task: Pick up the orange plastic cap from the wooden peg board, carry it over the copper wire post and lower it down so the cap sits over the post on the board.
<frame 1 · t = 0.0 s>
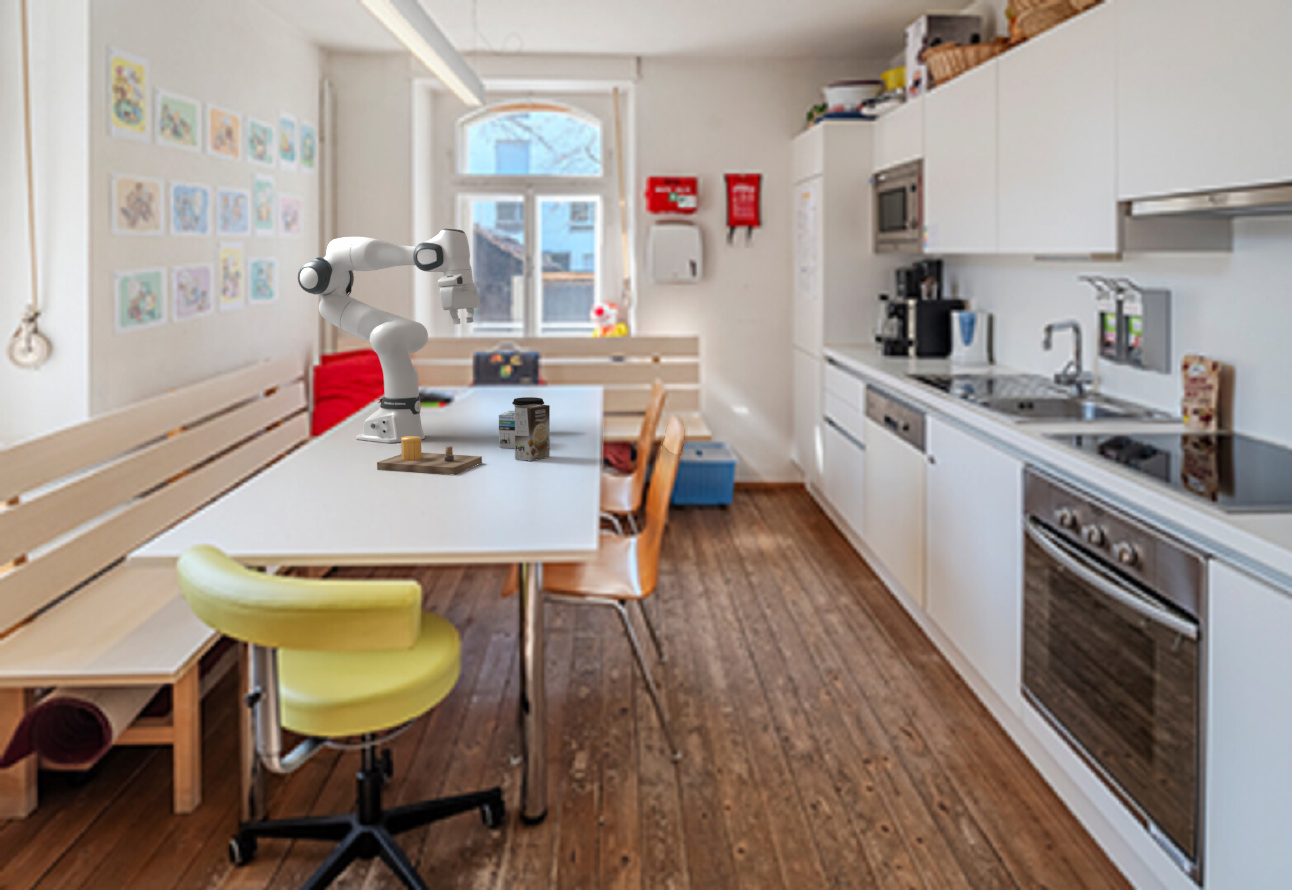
hand: (463, 323, 328), 39 cm above the table, tool pointing down, fingers open, 8 cm apart
wire cap: (411, 458, 297), point 2 cm above the table, touching wooden peg board
coffee cup: (528, 434, 354), on the table
light bulb box: (513, 446, 330), on the table
wooden peg board: (430, 466, 296), on the table
coffee box: (532, 459, 309), on the table
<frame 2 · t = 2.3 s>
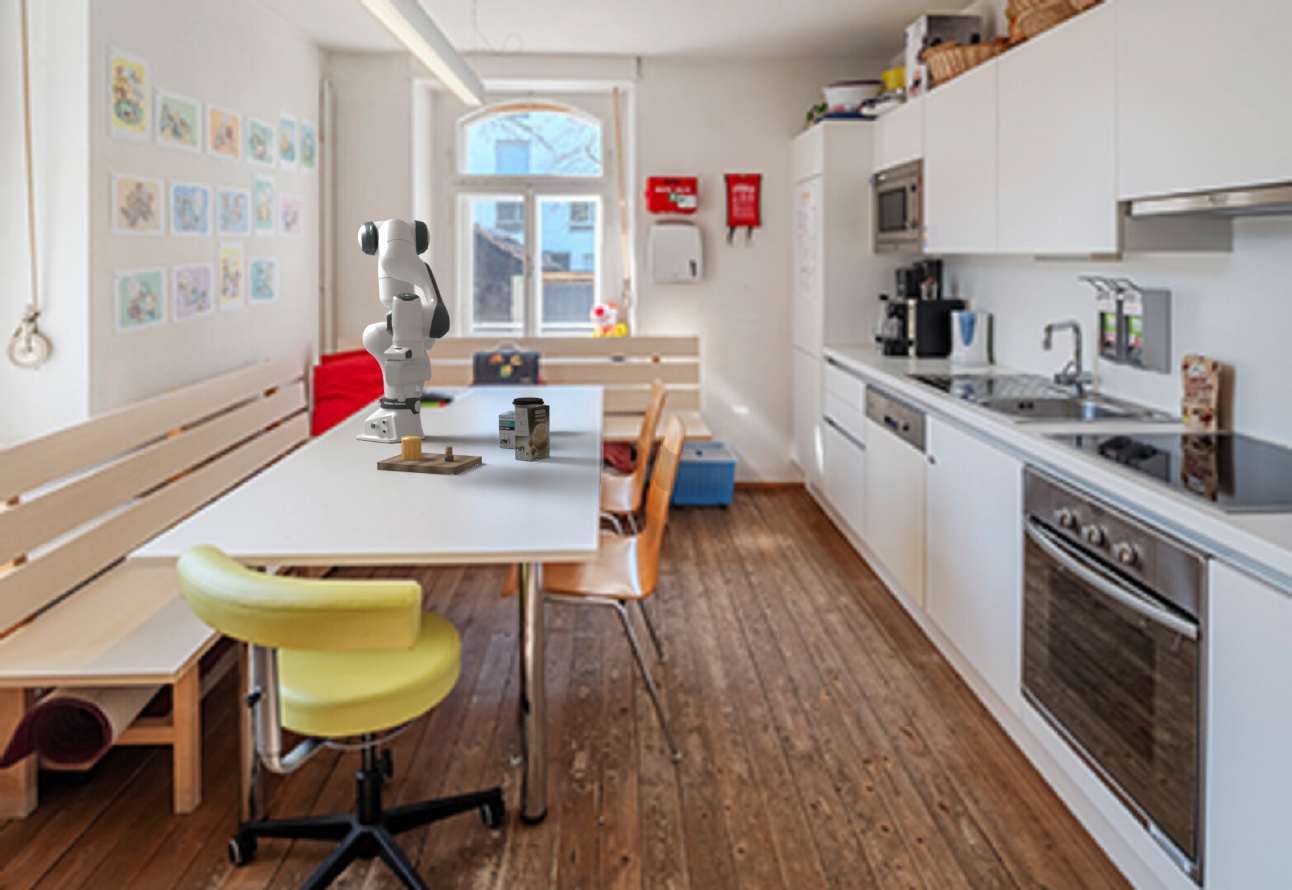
hand: (410, 399, 294), 19 cm above the table, tool pointing down, fingers open, 8 cm apart
nothing on the table moved.
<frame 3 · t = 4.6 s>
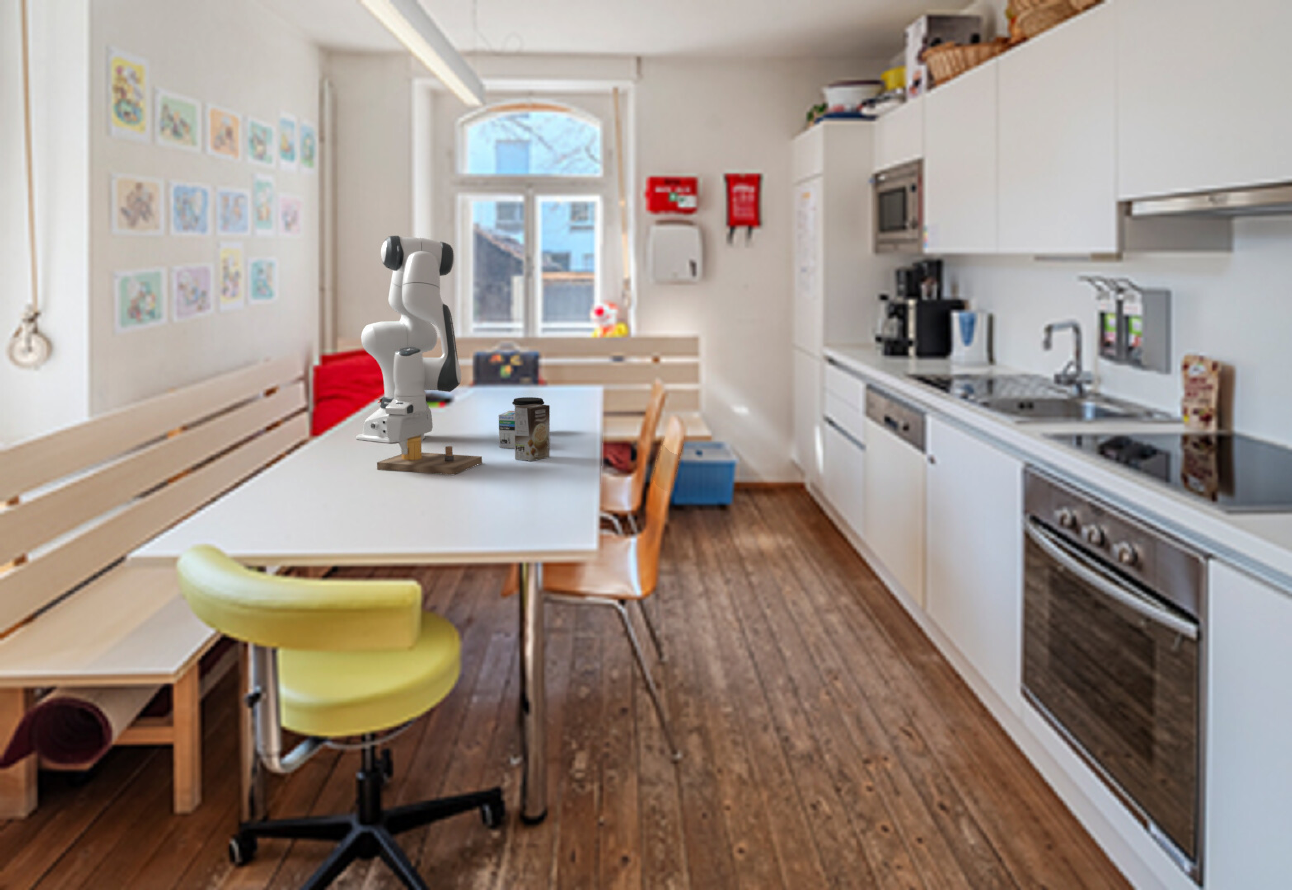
hand: (411, 451, 297), 4 cm above the table, tool pointing down, fingers closed on wire cap, 6 cm apart
wire cap: (411, 458, 297), point 2 cm above the table, touching gripper, wooden peg board
everything else where it was.
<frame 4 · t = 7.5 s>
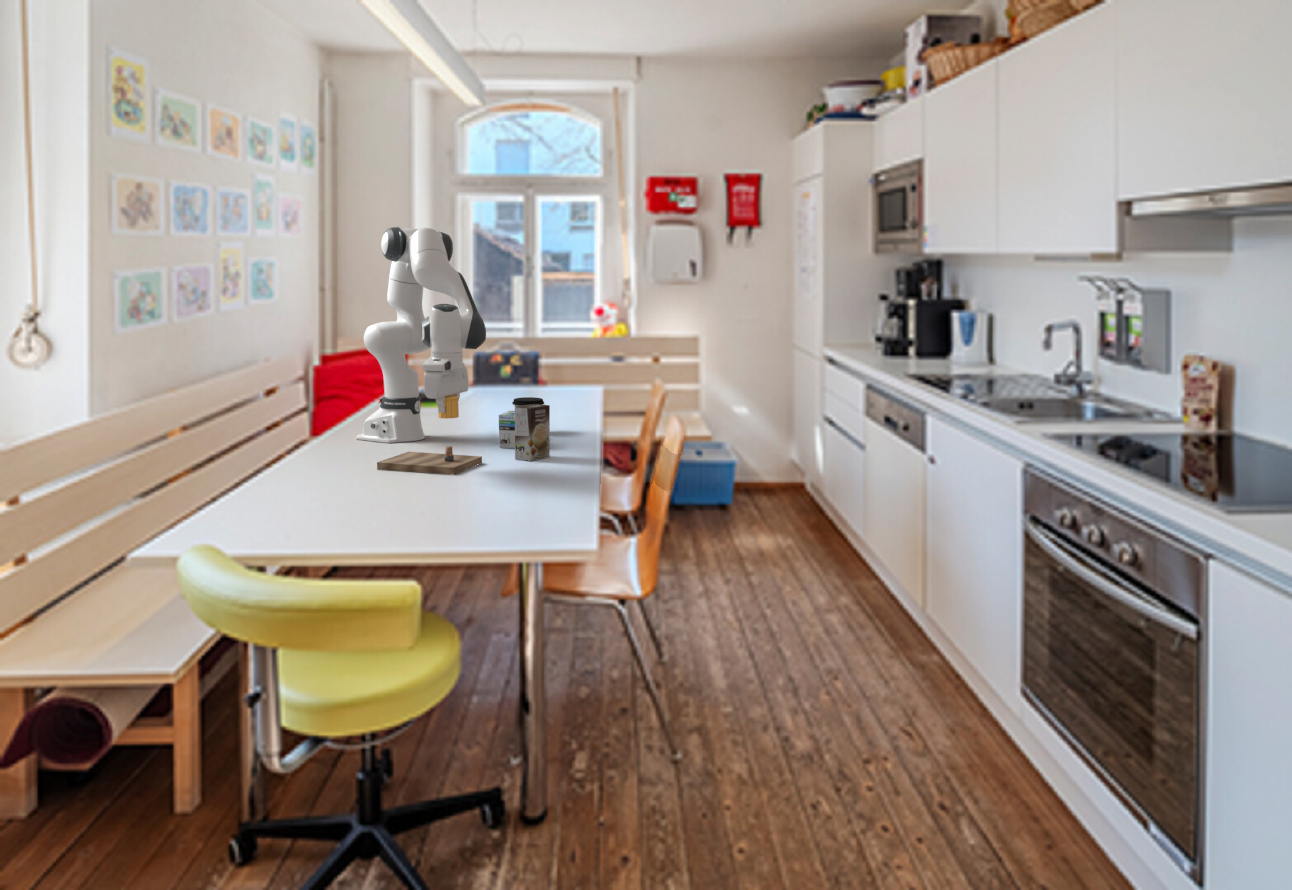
hand: (448, 410, 291), 16 cm above the table, tool pointing down, fingers closed on wire cap, 6 cm apart
wire cap: (448, 417, 292), point 15 cm above the table, touching gripper
everything else where it was.
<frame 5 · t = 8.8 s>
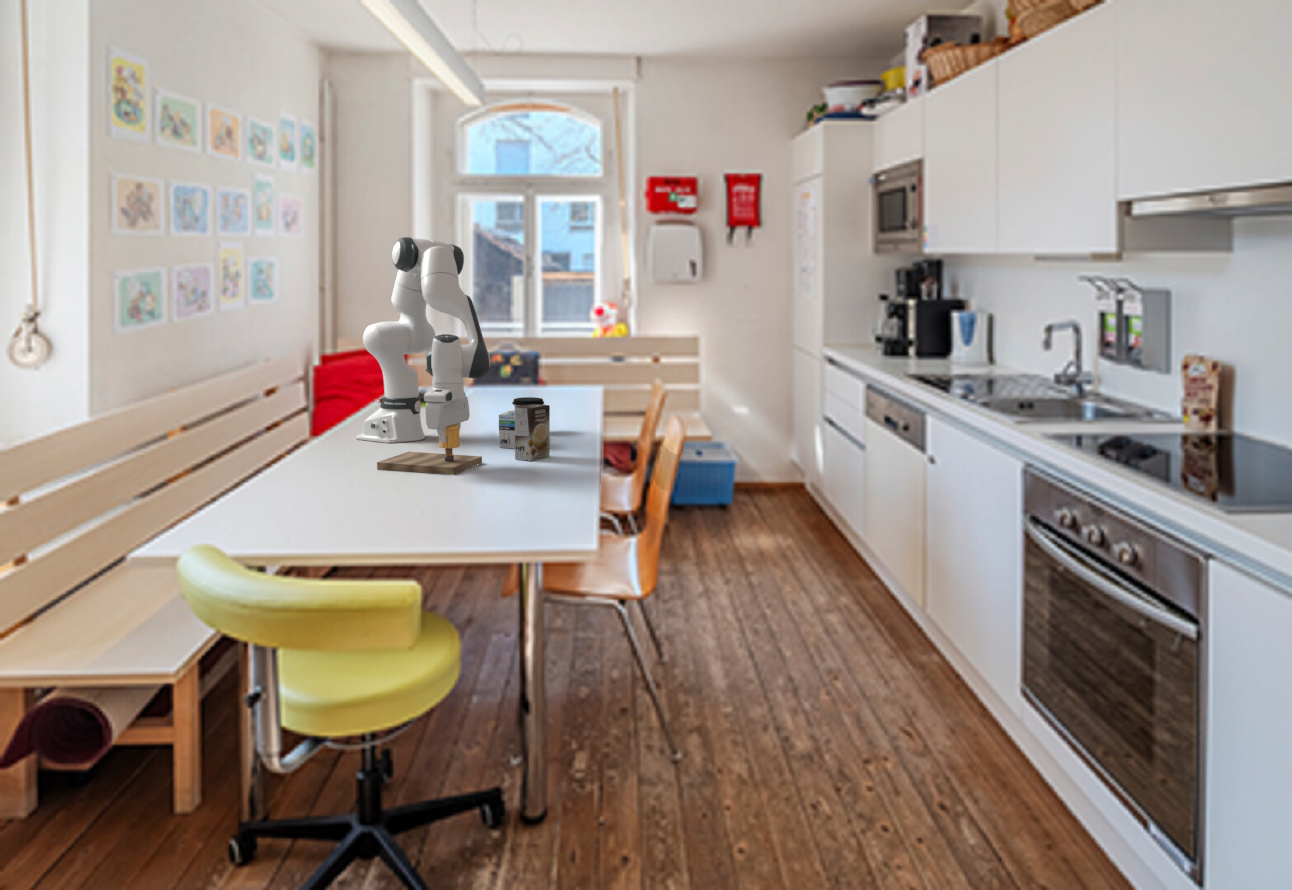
hand: (449, 440, 293), 8 cm above the table, tool pointing down, fingers closed on wire cap, 6 cm apart
wire cap: (449, 446, 293), point 6 cm above the table, touching gripper
everything else where it was.
when the fingers open (5 cm above the table, at t = 10.2 s): wire cap drops 2 cm, resting on wooden peg board.
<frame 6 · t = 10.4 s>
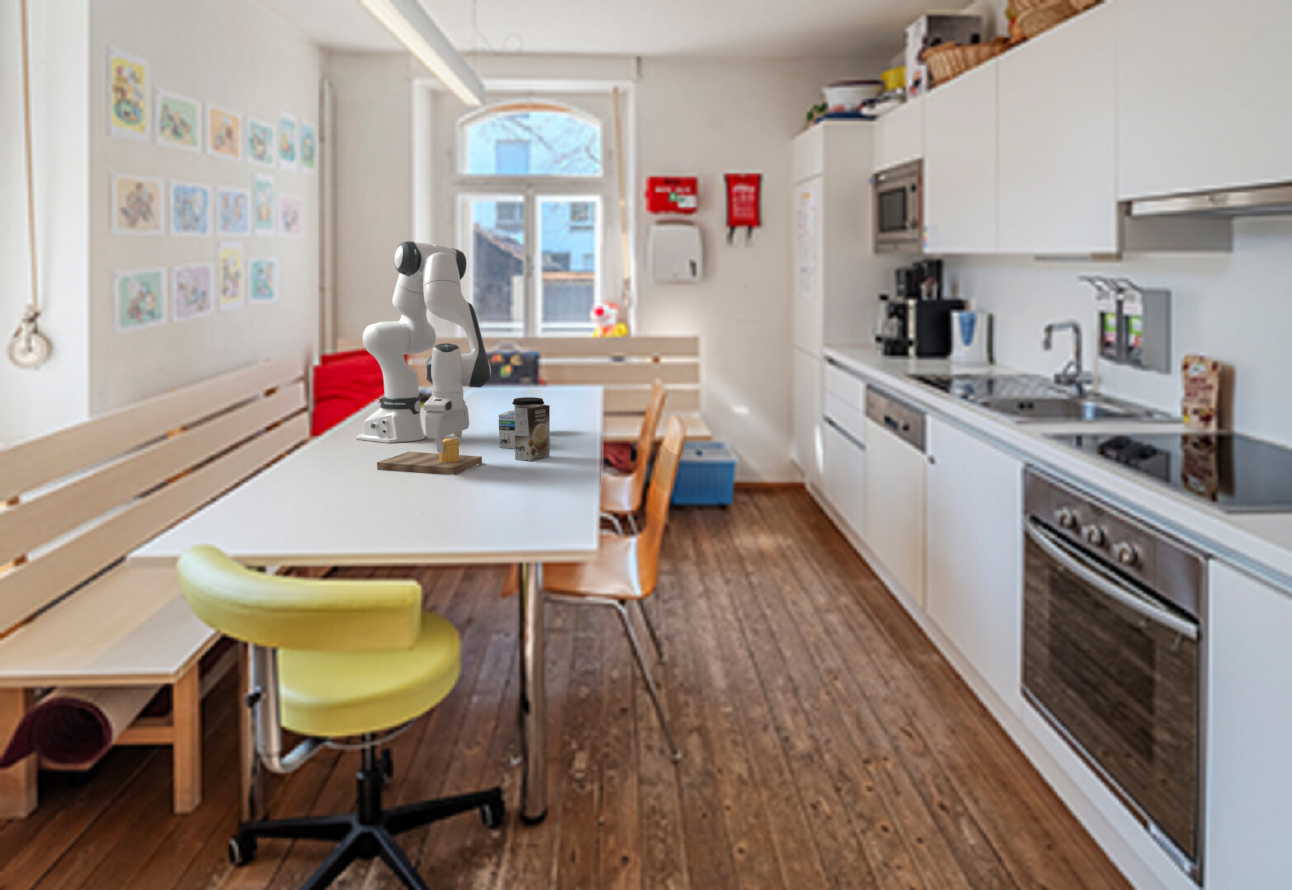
hand: (448, 449, 293), 5 cm above the table, tool pointing down, fingers open, 8 cm apart
wire cap: (449, 460, 294), point 2 cm above the table, touching wooden peg board
everything else where it was.
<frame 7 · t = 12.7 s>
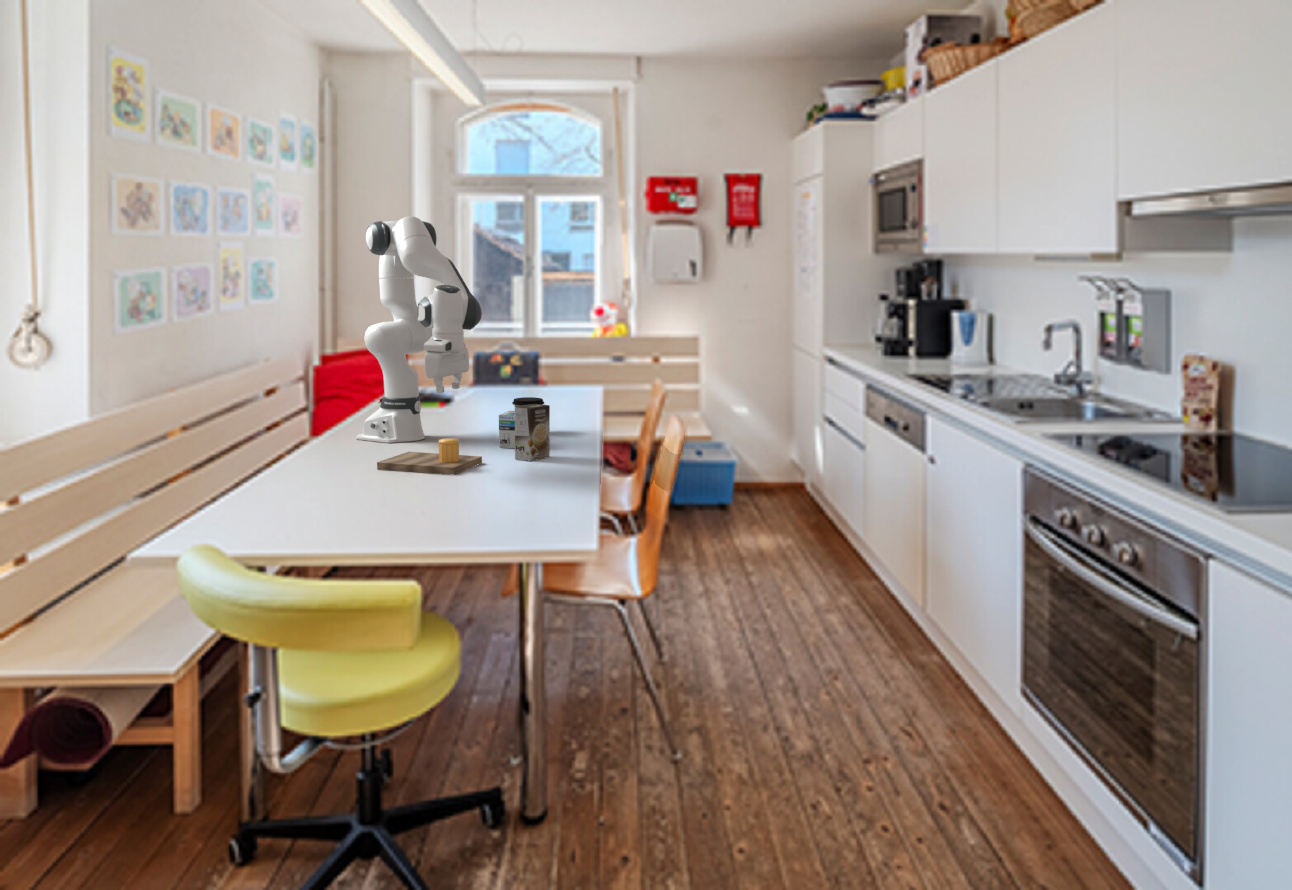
hand: (448, 390, 296), 21 cm above the table, tool pointing down, fingers open, 8 cm apart
nothing on the table moved.
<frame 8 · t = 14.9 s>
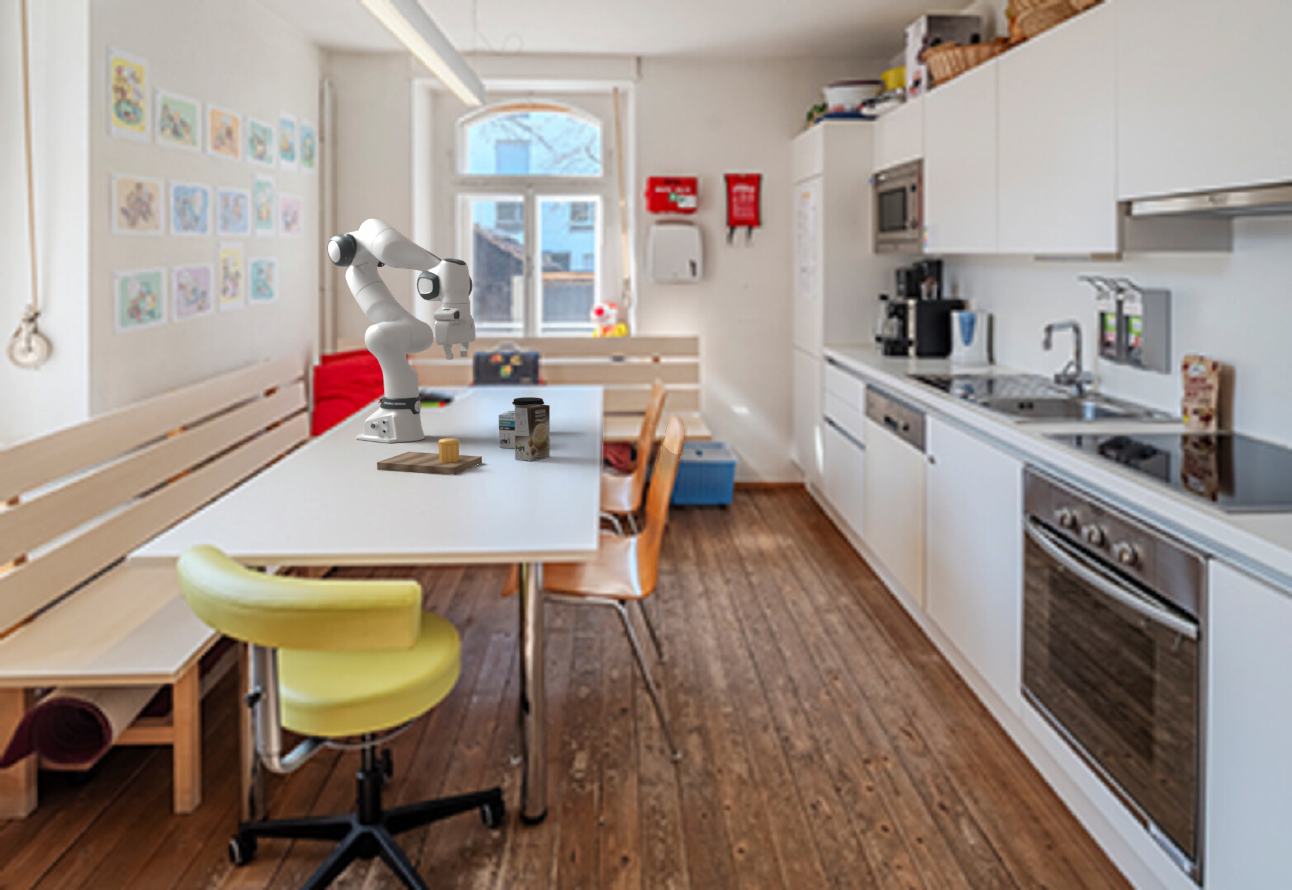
hand: (456, 358, 314), 29 cm above the table, tool pointing down, fingers open, 8 cm apart
nothing on the table moved.
at the end: wire cap 0.0 cm from the target spot on the wooden peg board, point 2.0 cm above the wooden peg board's base; wire cap tilted 0°; the gripper is holding nothing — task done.
